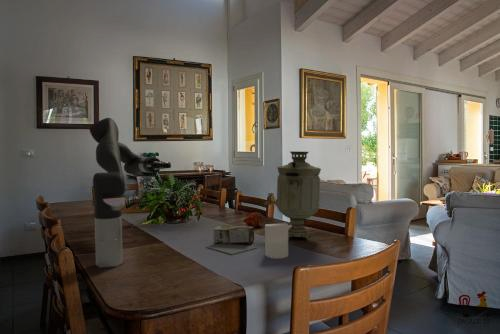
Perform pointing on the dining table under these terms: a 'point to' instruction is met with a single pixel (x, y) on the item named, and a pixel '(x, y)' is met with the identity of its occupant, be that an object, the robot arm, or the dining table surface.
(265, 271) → the dining table surface
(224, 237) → the coffee box
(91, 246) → the dining table surface
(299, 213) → the samovar
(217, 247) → the mat
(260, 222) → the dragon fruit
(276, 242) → the base with upright slab
